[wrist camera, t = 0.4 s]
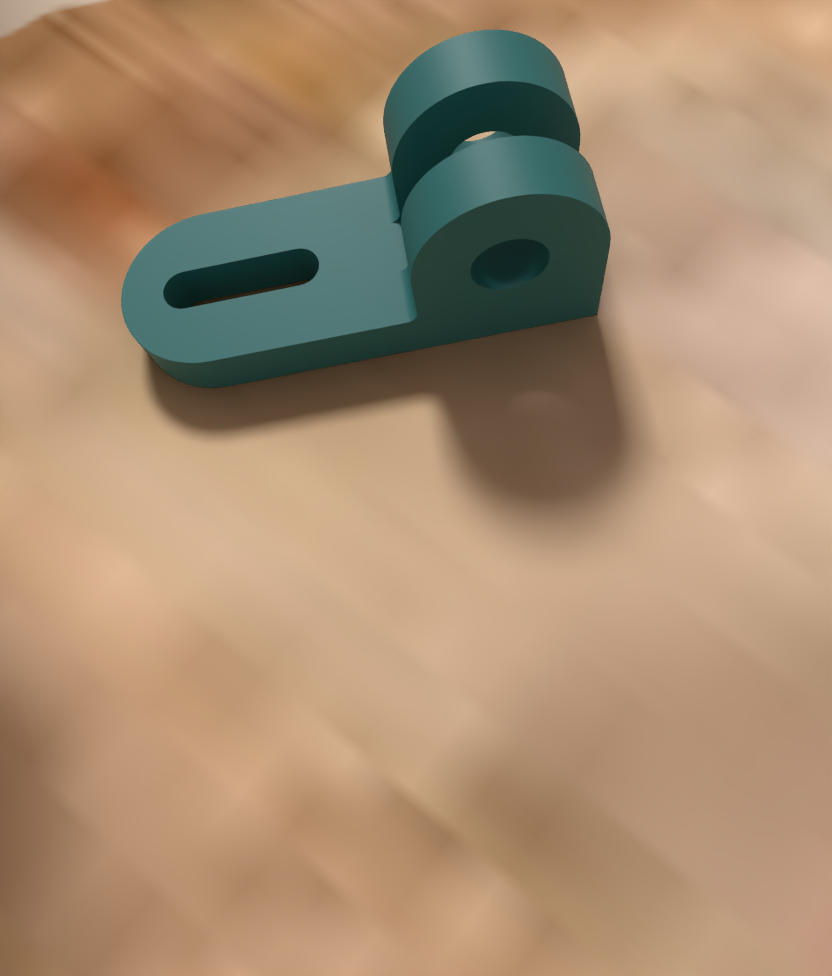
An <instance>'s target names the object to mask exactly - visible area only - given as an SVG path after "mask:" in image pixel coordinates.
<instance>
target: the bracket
mask: <svg viewBox="0 0 832 976" xmlns="http://www.w3.org/2000/svg"><path fill="white" fill-rule="evenodd" d="M383 125H384V133H385V138H386V144H387V150H388V155H389V161H390V167H391V172H390V173H389V174H388V175H387V176H384V177H381V178H376V179H371V180H366V181H361V182H357V183H352V184H347V185H342V186H337V187H332V188H328V189H323V190H318V191H313V192H308V193H303V194H299V195H294V196H289V197H284V198H279V199H274V200H270V201H265V202H260V203H255V204H250V205H245V206H241V207H236V208H231V209H226V210H221V211H216V212H212V213H207V214H202V215H198V216H194V217H190V218H187V219H185V220H182V221H180V222H178V223H175V224H173V225H172V226H170V227H168V228H166V229H165V230H163V231H162V232H160V233H159V234H158V235H156V236H155V237H154V238H153V239H151V240H150V241H149V242H148V243H147V244H146V245H145V246H144V247H143V249H142V250H141V251H140V252H139V253H138V255H137V256H136V258H135V259H134V261H133V262H132V264H131V266H130V268H129V270H128V272H127V274H126V277H125V280H124V284H123V289H122V297H121V303H122V312H123V316H124V320H125V323H126V325H127V327H128V329H129V331H130V332H131V334H132V336H133V337H134V338H135V339H136V340H137V342H138V343H139V344H140V345H141V346H142V347H143V348H144V350H145V351H146V352H147V353H148V354H149V355H150V356H151V358H152V359H153V360H154V361H155V362H156V363H157V364H158V366H159V367H160V368H161V369H162V370H163V371H165V372H166V373H167V374H168V375H170V376H171V377H173V378H175V379H177V380H178V381H181V382H183V383H186V384H189V385H193V386H198V387H206V388H218V387H227V386H232V385H237V384H243V383H248V382H253V381H258V380H263V379H268V378H274V377H279V376H284V375H289V374H294V373H299V372H305V371H310V370H315V369H320V368H325V367H330V366H336V365H341V364H346V363H351V362H356V361H361V360H367V359H372V358H377V357H382V356H387V355H392V354H397V353H403V352H408V351H413V350H418V349H423V348H428V347H434V346H439V345H444V344H449V343H454V342H459V341H465V340H470V339H475V338H480V337H485V336H490V335H496V334H501V333H506V332H511V331H516V330H521V329H527V328H532V327H537V326H542V325H547V324H552V323H557V322H563V321H568V320H573V319H578V318H583V317H588V316H594V315H597V312H598V307H599V302H600V296H601V291H602V285H603V280H604V275H605V269H606V264H607V258H608V253H609V247H610V239H611V238H610V230H609V227H608V223H607V220H606V216H605V213H604V209H603V206H602V203H601V199H600V196H599V192H598V189H597V185H596V182H595V178H594V175H593V171H592V169H591V167H590V165H589V163H588V162H587V161H586V159H585V158H584V157H583V156H582V155H581V154H580V153H579V145H580V128H579V123H578V120H577V116H576V113H575V109H574V106H573V102H572V99H571V96H570V92H569V89H568V85H567V82H566V78H565V75H564V71H563V69H562V67H561V64H560V62H559V61H558V59H557V58H556V56H555V55H554V54H553V53H552V52H551V50H550V49H548V48H547V47H546V46H545V45H544V44H542V43H541V42H539V41H537V40H536V39H534V38H532V37H529V36H527V35H524V34H521V33H518V32H513V31H507V30H482V31H474V32H470V33H465V34H462V35H458V36H455V37H452V38H450V39H448V40H445V41H443V42H441V43H439V44H437V45H435V46H433V47H432V48H430V49H429V50H427V51H426V52H424V53H423V54H421V55H420V56H419V57H418V58H416V59H415V60H414V61H413V62H412V63H411V64H410V65H409V66H408V67H407V68H406V69H405V70H404V71H403V72H402V74H401V75H400V76H399V78H398V79H397V81H396V82H395V84H394V85H393V87H392V89H391V91H390V93H389V96H388V98H387V101H386V105H385V109H384V116H383ZM489 131H496V132H495V133H493V134H492V135H490V136H488V137H486V138H483V139H480V140H476V141H465V140H466V139H468V138H470V137H472V136H474V135H477V134H480V133H483V132H489ZM309 279H312V280H311V281H309V282H307V283H305V284H303V285H299V286H294V287H289V288H284V289H279V290H274V291H269V292H264V293H259V294H254V295H249V296H244V297H239V298H234V299H229V300H224V301H219V302H214V303H209V304H204V305H199V306H194V307H191V306H192V305H194V304H195V303H197V302H200V301H204V300H209V299H214V298H219V297H224V296H229V295H234V294H239V293H244V292H249V291H254V290H259V289H264V288H269V287H274V286H279V285H284V284H289V283H294V282H299V281H304V280H309Z"/></svg>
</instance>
